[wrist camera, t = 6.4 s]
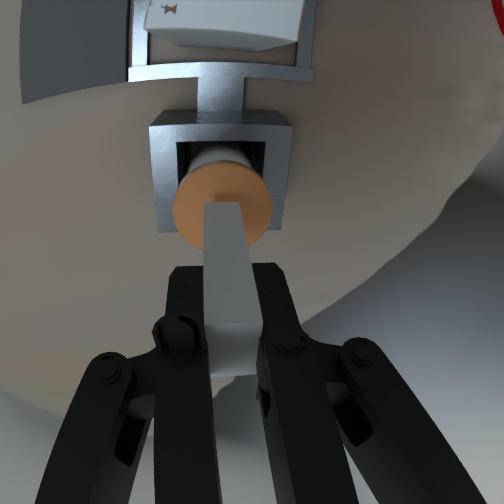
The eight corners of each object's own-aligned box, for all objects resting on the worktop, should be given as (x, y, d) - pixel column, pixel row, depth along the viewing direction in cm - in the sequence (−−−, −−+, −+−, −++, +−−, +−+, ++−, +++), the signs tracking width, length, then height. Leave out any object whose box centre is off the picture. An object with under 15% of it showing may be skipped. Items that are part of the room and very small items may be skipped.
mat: (137, -61, 9) (135, -64, 9) (127, 81, 17) (125, 81, 16) (30, -28, 8) (26, -29, 8) (26, 102, 15) (22, 104, 15)
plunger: (258, 134, 18) (277, 166, 13) (253, 201, 20) (268, 252, 16) (181, 134, 17) (169, 167, 12) (184, 202, 20) (176, 254, 15)
